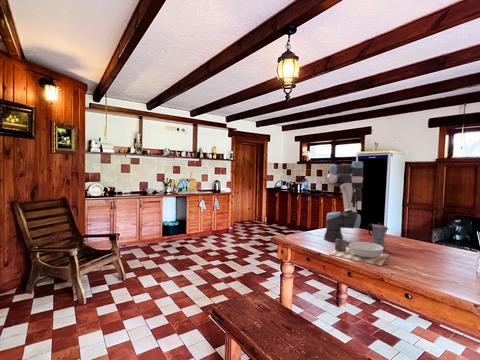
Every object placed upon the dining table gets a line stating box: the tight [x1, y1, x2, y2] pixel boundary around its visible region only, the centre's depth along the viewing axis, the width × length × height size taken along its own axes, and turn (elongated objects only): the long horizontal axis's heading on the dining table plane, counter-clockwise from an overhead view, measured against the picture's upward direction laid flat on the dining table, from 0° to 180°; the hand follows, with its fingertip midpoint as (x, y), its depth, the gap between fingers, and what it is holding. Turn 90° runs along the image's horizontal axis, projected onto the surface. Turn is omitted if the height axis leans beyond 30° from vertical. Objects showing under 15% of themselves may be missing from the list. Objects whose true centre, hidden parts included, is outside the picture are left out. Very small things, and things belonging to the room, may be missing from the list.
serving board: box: [329, 239, 390, 267], centre depth 174 cm, size 32×25×9 cm
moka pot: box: [367, 222, 389, 251], centre depth 190 cm, size 10×15×20 cm, turn 39°
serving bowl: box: [348, 241, 385, 258], centre depth 172 cm, size 21×21×7 cm
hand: (356, 210), depth 189 cm, fingers open, 13 cm apart
